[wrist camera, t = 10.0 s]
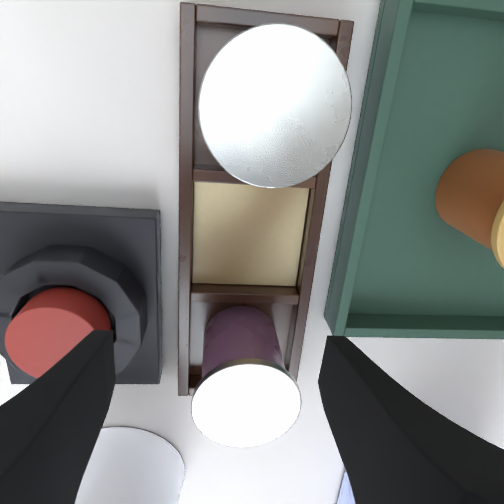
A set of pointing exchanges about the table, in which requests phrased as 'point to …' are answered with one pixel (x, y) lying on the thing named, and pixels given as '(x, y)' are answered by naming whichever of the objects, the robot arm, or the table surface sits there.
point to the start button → (52, 327)
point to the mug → (131, 469)
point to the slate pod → (274, 105)
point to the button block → (88, 275)
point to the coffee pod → (475, 198)
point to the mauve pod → (244, 381)
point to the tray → (420, 177)
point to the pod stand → (241, 207)
